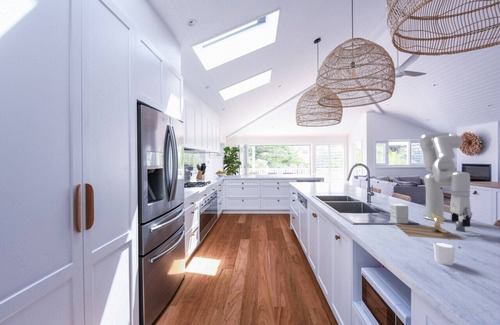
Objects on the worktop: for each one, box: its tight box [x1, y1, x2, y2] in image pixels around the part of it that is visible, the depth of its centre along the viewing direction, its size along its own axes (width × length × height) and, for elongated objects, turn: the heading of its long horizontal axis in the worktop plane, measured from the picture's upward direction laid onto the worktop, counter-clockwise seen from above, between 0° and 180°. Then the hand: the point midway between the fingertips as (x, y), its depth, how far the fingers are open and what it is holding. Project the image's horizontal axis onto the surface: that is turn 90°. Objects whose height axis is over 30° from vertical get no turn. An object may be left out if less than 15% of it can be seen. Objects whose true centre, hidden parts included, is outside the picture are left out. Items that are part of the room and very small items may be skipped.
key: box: [431, 213, 448, 233], centre depth 120 cm, size 2×11×9 cm, turn 162°
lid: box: [449, 220, 482, 238], centre depth 124 cm, size 12×12×6 cm
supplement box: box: [389, 203, 409, 224], centre depth 141 cm, size 7×7×13 cm
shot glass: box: [432, 241, 456, 266], centre depth 89 cm, size 7×7×7 cm
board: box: [394, 223, 465, 241], centre depth 122 cm, size 22×24×2 cm
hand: (460, 224), depth 124 cm, fingers open, 9 cm apart
